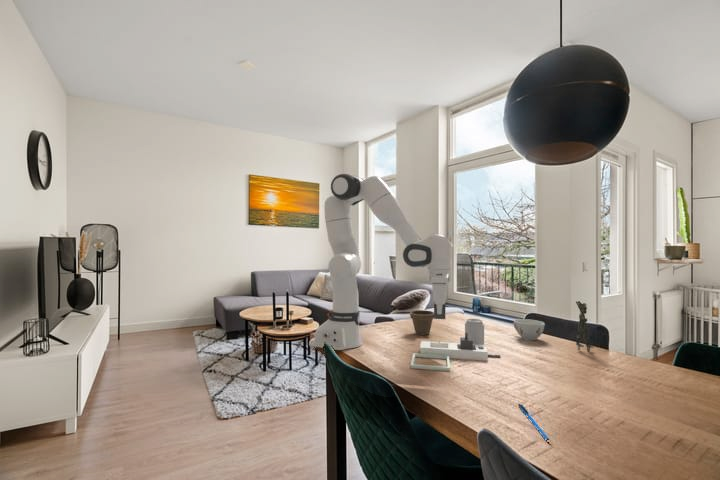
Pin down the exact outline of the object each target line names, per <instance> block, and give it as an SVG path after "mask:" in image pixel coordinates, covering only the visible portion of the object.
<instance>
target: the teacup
mask: <svg viewBox="0 0 720 480" xmlns="http://www.w3.org/2000/svg"><path fill="white" fill-rule="evenodd" d="M512 324H513V328H514V329H515V331H516V333H517V334H518V336H520V337H521V338H522V339H523V340H525V341H537V339H538V338H540V337H541V335H542V334H543V333H544V330H545V325H546V324H545V322H544V321H541V320H536V319H528V318H524V319H522V318H517V319H515V320H513V323H512Z"/></svg>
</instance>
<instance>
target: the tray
mask: <svg viewBox="0 0 720 480" xmlns="http://www.w3.org/2000/svg"><path fill="white" fill-rule="evenodd" d="M411 356H412V357H411V361H410V369H421V370H432V371H433V370H435V371H442V372H443V371H445V372H451V364H450V362H451V361H450V358H449V356H446V355H432V354H420V353H414V352H413V353H412V355H411ZM416 358H426V359H428V358H430V359H442V360H446V364H447V365H446V366H444V365H443V366H442V365H441V366H439V365H430V364H429V365H427V364H416V363H415V360H416Z"/></svg>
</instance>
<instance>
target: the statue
mask: <svg viewBox="0 0 720 480" xmlns="http://www.w3.org/2000/svg"><path fill="white" fill-rule="evenodd" d="M575 304H576V305H577V307H578V310H579V312H580V313H579V315H578V319H579V322H578V325H577V334H576V336H575V337H576V339H575V340H576V342H575V344H576V347H577V351H581V348H583V347H586V351H587V352H590V351H591V348H592V349H593V348H595V347H594V346H592V345H590V344H589V341H588V337H587V328H586V323H587V322H588V318H587V317H585V316H586V315H585V314H587V311H588V306H587V303H586V302H585V303H584V302H583V303H582V302H581V300H580V301H577V300H576V301H575ZM581 335H582V337H583V341H584V343H585V345H584V344H581V343H580V338H581Z"/></svg>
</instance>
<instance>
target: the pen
mask: <svg viewBox="0 0 720 480" xmlns="http://www.w3.org/2000/svg"><path fill="white" fill-rule="evenodd" d="M517 405H518V406H519V407H518V408H519V409H520V408H521V409H522V410H523V411H522V410H521V409H520V410H521V411H522V413H523V412H524V413H525V414H526V415H527V416H528V418H529V419H530V420H531V421H532V423H533V424H534V425H535V426H536V427H537V428H538V429H539V431H540V432H541V433H542V434H543V436H544V437H545V438H546V439H547V440H549V439H550V438H549V437H548V435H547V434H546V433H545V432H544V431H543V429H542V428H541V427H540V426H539V424H538V422H536V421H535V420H534V418H533V417H532V416H531V415H530V413H529V411H527V409H526V408H525V406H524V405H523V404H520V403H518V404H517ZM524 413H523V414H524ZM525 414H524V415H525ZM526 415H525V416H526ZM527 416H526V417H527ZM528 418H527V419H528ZM529 419H528V420H529ZM530 420H529V421H530ZM531 421H530V422H531ZM532 423H531V424H532ZM533 424H532V425H533ZM534 425H533V426H534Z"/></svg>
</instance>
